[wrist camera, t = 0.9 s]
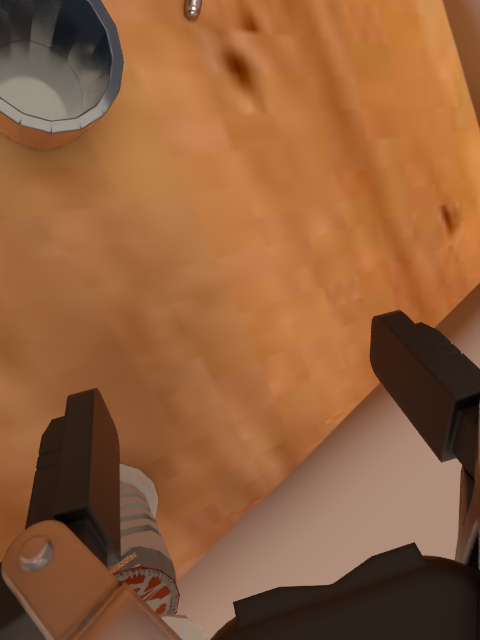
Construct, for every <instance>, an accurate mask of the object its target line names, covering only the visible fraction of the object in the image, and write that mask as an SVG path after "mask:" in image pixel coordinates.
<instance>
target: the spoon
mask: <svg viewBox="0 0 480 640" xmlns="http://www.w3.org/2000/svg"><path fill="white" fill-rule="evenodd" d="M201 5H202V0H186V4H185V13H186V15H187V16H188V17H189V18H190V19H196V18H198V16H199V15H200V11H201Z"/></svg>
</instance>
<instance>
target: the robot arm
mask: <svg viewBox="0 0 480 640" xmlns="http://www.w3.org/2000/svg"><path fill="white" fill-rule="evenodd" d="M370 362H371V366H372V369H373V371H374V373H375V375H376V377H377V378H378V379H379V381H380V382H381V383H382V384H383V386H384V387H385V389H386V390H387V391H388V393H389V394H390V395H391V397H392V398H393V399H394V400H395V402H396V403H397V404H398V406H399V407H400V408H401V410H402V411H403V412H404V414H405V415H406V416H407V417H408V419H409V420H410V422H411V423H412V424H413V426H414V427H415V428H416V430H417V431H418V432H419V434H420V435H421V436H422V438H423V439H424V440H425V442H426V443H427V444H428V446H429V447H430V448H431V449H432V451H433V452H434V453H435V455H436V456H437V457H438V459H439V460H440V461H441V462H445V461H448V460H451V459H455V458H457V459H458V460H459V462H460V463H461V464H462V469H461V480H460V481H461V483H460V505H459V530H458V541H457V548H456V555H455V561H454V560H451V559H447V558H442V557H436V556H422V554H421V552H420V551H419V549H418V548H417V546H416V544H415V542H414V543H411V544H408V545H405V546H402V547H399V548H396V549H393V550H390V551H387V552H384V553H381V554H378V555H375V556H372V557H370V558H369V559H367V560H366V561H365V562H363V563H362V564H360V565H359V566H358V567H356V568H355V569H353V570H352V571H351V572H349V573H348V574H346V575H345V576H344V577H342V578H341V579H339V580H338V581H336V582H335V583H333V584H330V585H319V586H294V587H278V588H275V589H272V590H269V591H265V592H263V593H259V594H257V595H253V596H250V597H248V598H244V599H241V600H238V601H235V602H233V604H234V609H235V614H236V617H234V618H233V619H232V620H230V621H229V622H227V623H226V624H225V625H224V626H223V627H222V628H221V629H220V630H219V631H218V632H217V633H216V634H215V635H214V636H213V637H212V638H211V640H480V369H479V368H478V367H477V366H476V365H475V364H474V363H473V362H472V361H471V360H470V359H468V358H467V357H466V356H465V355H464V354H461V352H460V350H459V349H458V348H457V347H455V346H454V345H453V344H451V343H450V341H449V340H448V339H447V338H446V337H445V336H444V335H443V334H442V333H440V332H439V331H438V330H436V329H434V328H432V327H430V326H428V325H426V324H424V323H422V322H420V323H416V324H415V323H414V322H413V321H412V320H411V319H410V318H409V317H408V316H407V315H405V314H404V313H403V312H402V311H400V310H397V311H393V312H389V313H385V314H381V315H378V316H374V317H373V319H372V325H371V344H370ZM36 469H37V471H35V477H34V483H33V488H32V494H31V500H30V505H29V511H28V516H27V522H26V527H25V530H24V531H23V532H22V533H20V534H19V535H18V536H17V537H16V538H15V539H14V541H13V542H12V543H11V544H10V546H9V548H8V549H7V551H6V553H5V555H4V558H3V561H2V562H1V563H0V640H182V639H181V638H180V637H179V636H178V635H177V634H176V633H175V632H174V631H173V630H172V629H171V628H170V627H169V626H168V625H167V624H166V622H165V621H164V620H163V619H162V618H161V617H160V616H159V615H158V614H157V613H156V612H155V611H154V610H153V609H152V608H151V607H150V606H149V605H148V604H147V603H146V602H145V601H144V600H143V599H142V598H141V597H140V596H139V595H138V594H137V593H136V592H135V591H134V590H133V589H132V588H131V587H130V586H129V585H128V584H127V583H125V582H124V581H120V580H119V579H117V578H116V577H115V576H114V575H113V574H112V572H111V571H110V570H109V569H108V568H107V564H110V563H113V562H116V561H120V560H121V532H120V453H119V439H118V434H117V430H116V427H115V424H114V422H113V420H112V418H111V416H110V413H109V411H108V409H107V407H106V404H105V402H104V400H103V398H102V396H101V393H100V391H99V390H98V389H97V388H94V389H91V390H87V391H83V392H79V393H75V394H71V395H69V396H68V398H67V403H66V411H65V416H63V417H59V418H56V419H52V421H51V422H50V424H49V426H48V427H47V429H46V430H45V432H44V434H43V435H42V438H41V443H40V449H39V457H38V460H37V466H36Z"/></svg>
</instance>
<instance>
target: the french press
mask: <svg viewBox="0 0 480 640" xmlns="http://www.w3.org/2000/svg"><path fill="white" fill-rule="evenodd" d="M157 505H158V496H157V493H156V490H155V487H154V483H153V481H152V480H150V479H149V478H148V477H147V476H146V475H145V474H144V473H143V472H142V471H141V470H140V469H137V468H134V467H130V466H127V465H123V464H120V532H121V560H120V561H116V562H113V563H110V564H107V568H108V569H109V570H110V569H112V568H113V567H115V566H116V565H117V564H119V563H120V562H121V561H123V560H124V559H126V558H127V557H128V556H130V555H131V554H133V553H134V552H136V555H137V557H135V558H134V559H133V560H131V561H130V562H129V563H127V564H126V565H125V566H123V567H122V568H120V569H119V570H118V571H116V572H115V573H113V575H114V576H115V577H116V578H117V579H119V580H120V581H124V582H125V583H127V584H128V585H129V586H130V587H131V588H132V589H133V590H134V591H135V592H136V593H137V594H138V595H139V596H140V597H141V598H142V599H143V600H144V601H145V602H146V603H147V604H148V605H149V606H150V607H151V608H152V609H153V610H154V611H155V612H156V613H157V614H158V615H159V616H160V617H161V618H162V619H163V620H164V621H165V622H166V624H167V625H168V626H169V627H170V628H171V629H172V630H173V631H174V632H175V633H176V634H177V635H178V636H179V637H180V638H181V639H182V640H207V636H206V633H205V630H204V629H202V628H201V627H200V626H198V625H197V624H196V623H194V622H193V621H192V620H191V619H189V618H188V617H186V616H184V615H176V613H177V607H178V602H179V596H180V594H179V591H178V588H177V586H176V576H175V570H174V567H173V563H172V560H171V558H170V555H169V553H168V550H167V548H166V545H165V543H164V540H163V538H162V537H161V534H160V531H159V528H158V526H157V524H156V522H155V518H156V512H157ZM138 563H139V564H140V567H135V568H133V567H134V566H135V565H137V564H138Z"/></svg>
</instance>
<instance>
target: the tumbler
mask: <svg viewBox="0 0 480 640" xmlns="http://www.w3.org/2000/svg"><path fill="white" fill-rule="evenodd" d="M123 63H124V61H123V54H122V50H121V45H120V41H119V36H118V32H117V28H116V25H115V24H114V22H113V20H112V19H111V17H110V15H109V13H108V12H107V10H106V8H105V7H104V5H103V3H102V1H101V0H0V133H1V134H3V135H4V136H5V137H7V138H8V139H10V140H12V141H13V142H15V143H17V144H19V145H22V146H25V147H28V148H32V149H39V150H49V149H55V148H60V147H63V146H65V145H66V144H68V143H70V142H71V141H73V140H74V139H76V138H77V137H79V136H80V135H81V134H82V133H84V132H85V131H86V130H87V129H88V128H90V127H91V126H92V125H93V124H95V123H96V122H97V121H98V120H99V119H101V118H102V117H103V116H104V115H105V114H106V113H107V111H108V109H109V108H110V106H111V105H112V103H113V101H114V100H115V98H116V96H117V95H118V93H119V90H120V86H121V78H122V71H123Z"/></svg>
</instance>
